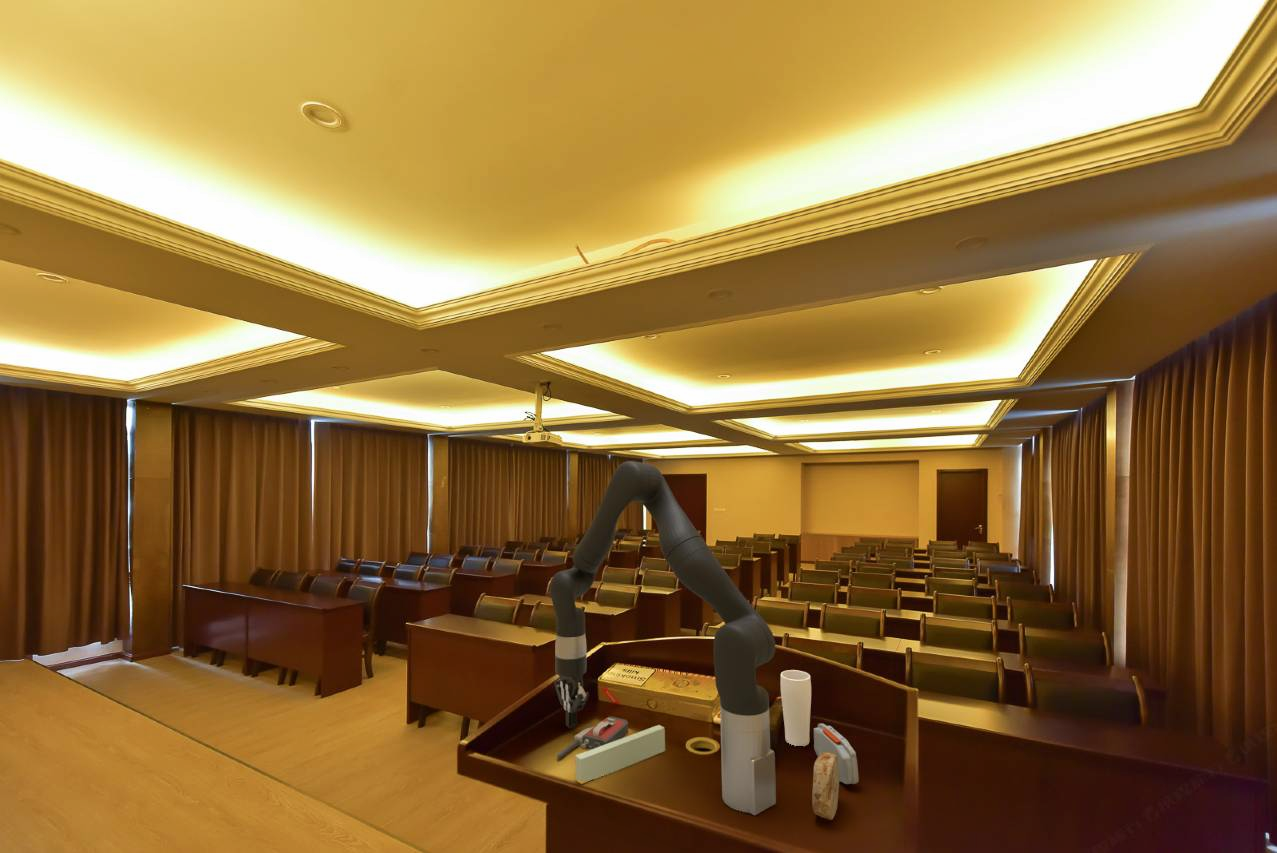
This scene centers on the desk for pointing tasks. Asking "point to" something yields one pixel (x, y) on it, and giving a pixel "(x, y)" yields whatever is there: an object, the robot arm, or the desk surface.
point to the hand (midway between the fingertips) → (571, 726)
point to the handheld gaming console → (837, 752)
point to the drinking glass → (796, 706)
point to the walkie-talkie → (599, 735)
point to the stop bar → (619, 753)
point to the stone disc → (825, 785)
